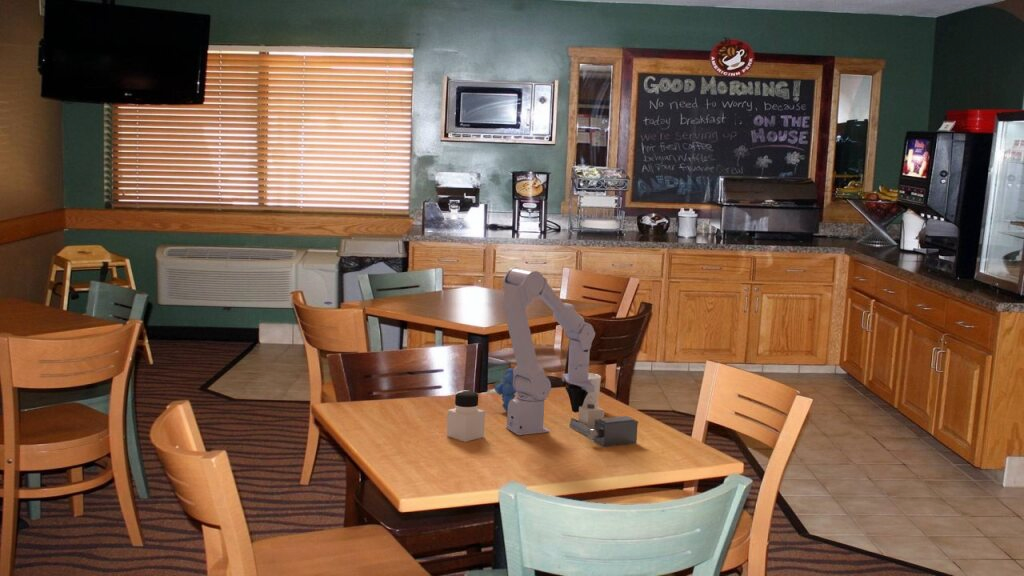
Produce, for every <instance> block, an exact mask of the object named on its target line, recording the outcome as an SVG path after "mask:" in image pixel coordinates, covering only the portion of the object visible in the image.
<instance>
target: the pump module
mask: <svg viewBox="0 0 1024 576" xmlns="http://www.w3.org/2000/svg"><path fill="white" fill-rule="evenodd" d="M601 418H605V409H604V408H601V407H599V405H598V406H596V405H594V404H587V406H580V407H579V412H578V419H577V420H578V421H579V422H581V423H583V424H585V425H587V426H589V427H591V428H593V429H594V423H595V419H601Z"/></svg>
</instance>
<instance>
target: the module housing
mask: <svg viewBox="0 0 1024 576" xmlns="http://www.w3.org/2000/svg"><path fill="white" fill-rule="evenodd" d="M569 422H570V423H569V428H571V429H573V430H575V431H576V432H578V433H580V434H582V435H583V436H585V437H587V438H588V439H589V440H593V443H596V444H597V445H599V446H601V448H602V447H603V448H608V447H616V446H617V447H619V446H625V445H626V446H627V445H633V444H634V445H636V444H637V442H638V441H637V438H638V425H639V424H638V423H639V421H638V420H636V419H634V418H632V417H630V416H627V415H623V416H614V417H613V416H611V417H604V418H601V419H595V423H594V429H593V428H591V427H589V426H587V425H585V424H583V423H581V422H579V421H578V419H575V418H574V417H571V418H570V421H569Z"/></svg>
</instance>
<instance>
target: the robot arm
mask: <svg viewBox="0 0 1024 576" xmlns="http://www.w3.org/2000/svg"><path fill="white" fill-rule="evenodd" d="M502 285H503V289H504V291H503V298H502V299H503V300H502V308H503V313H504V317H505V321H506V324H507V325H506V326H507V329H508V333H509V337H510V338H509V339H510V342H511V345H512V350H513V354H514V358H515V361H516V362H515V363H516V366H515V367H514V368H513V375H514V377H513V387H514V389H515V390H516V391H517V392H516V396H517V397H515V398H514V399H512V400H510V401H509V403H508V411H506V412H507V413H506V414H507V416H506V418H507V419H506V425H505V428H506V429H508V430H509V431H511V432H512V433H514V434H516V435H518V436H523V435H525V436H526V435H532V434H541V433H543V434H545V433H549V432H550V429H548V428H546V427H544V417H545V401H546V400H547V397H548V396H549V395H550V394H551V393H550V392H551V389H552V384H551V383H552V382H551V381H550V379H549V378H548V376H547V374H546V371H545V370H544V368H543V367H542V366H541V365H540V364H539V362H538V359H537V358H538V357H537V354H536V351H535V347H534V346H535V345H534V341H533V338H532V337H533V336H532V333H531V328H530V325H529V324H530V323H529V320H528V317H527V316H528V315H527V312H526V311H527V310H526V308H527V307H528V306H529V305H530V304H531V302H533V300H535V299H536V297H537V296H538V298H539V299H540V300H542V301H543V302H544V303H545V304H546V305H547V306H548V307H549V308H550V309H551V311H553V314H552V316H553V319H554V320H555V321H556V322H557V323H558V324H559V325H560V327H562V329H563V331H564V334H565V338H567V339H569V342H568V343H569V344H568V345H569V347H568V366H567V367H568V368H567V369H568V370H567V373H562V374H561V381H562V382H566V383H568V384H569V385H566V386H565V390H566V393H567V395H568V397H569V398H568V399H569V403H570V406H571V412H573V413H579V407H580V406H583V403H584V400H585V398H586V396H587V394H588V393H589V392H594V387H595V385H593V384H592V383H591V381H592V379H590V378H588V375H589V373H590V372H589V371H590V352H591V348H592V344H593V340H594V338H595V336H596V332H595V329H594V327H593V325H592V324H591V323H588V322H585V319H584V317H583V316H582V315H580V314H579V313H578V312H577V310H575V307H576V306H575V305H574V304H571V303H568V302H563V301H562V300H561V298H560V297H559V296H558V295H557V293H556V291H554V289H553V288H552V287H551V285H550V284H549V283H548V279H547V278H546V277H545V276H543V274H542V273H541V272H540V271H537V270H529V269H525V268H520V267H518V266H514V267H511V268H510V269H508V271H507V272H506V274H505V276H504V277H503V278H502Z"/></svg>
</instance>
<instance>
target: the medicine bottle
mask: <svg viewBox="0 0 1024 576" xmlns="http://www.w3.org/2000/svg"><path fill="white" fill-rule="evenodd" d="M478 408H479V394H478V393H477V392H476V391H474V390H466V389H465V390H459V391H457V392H456V393H455V395H454V408H450V409H447V410H446V411H447V413H446V437H448V438H451V439H455V440H458V441H461V442H462V443H463V442H464V443H466V442H470V441H473V440H478V439H483V438H484V437H485V423H486V422H485V421H486V419H485V418H486V411H485V410H482V409H478Z"/></svg>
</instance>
